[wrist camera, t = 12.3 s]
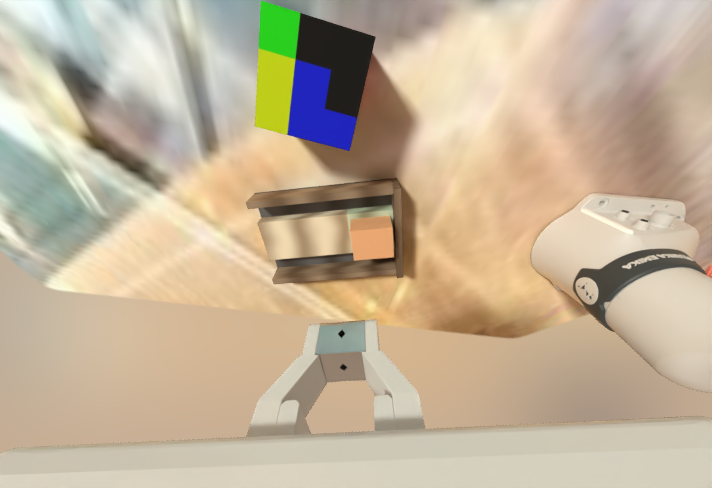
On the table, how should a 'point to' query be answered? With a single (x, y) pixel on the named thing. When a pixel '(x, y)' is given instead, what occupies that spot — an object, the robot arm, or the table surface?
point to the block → (372, 238)
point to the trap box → (327, 229)
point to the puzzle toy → (310, 76)
